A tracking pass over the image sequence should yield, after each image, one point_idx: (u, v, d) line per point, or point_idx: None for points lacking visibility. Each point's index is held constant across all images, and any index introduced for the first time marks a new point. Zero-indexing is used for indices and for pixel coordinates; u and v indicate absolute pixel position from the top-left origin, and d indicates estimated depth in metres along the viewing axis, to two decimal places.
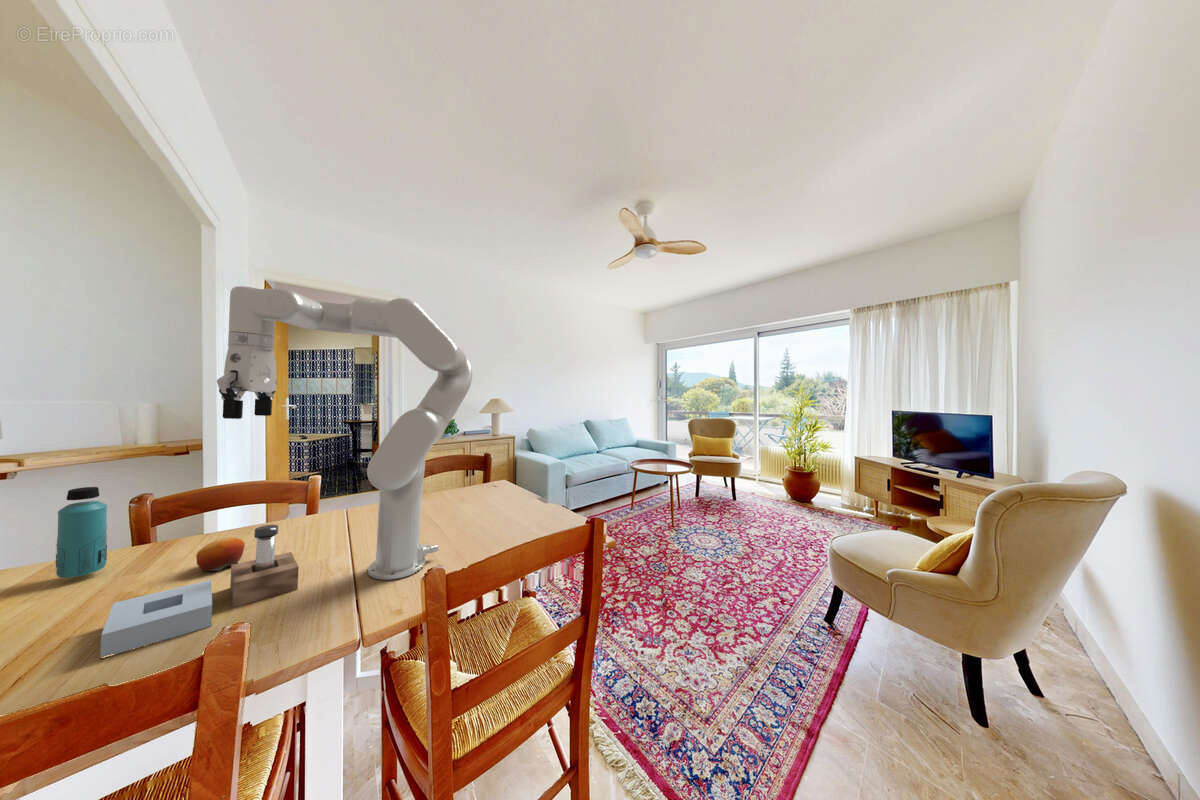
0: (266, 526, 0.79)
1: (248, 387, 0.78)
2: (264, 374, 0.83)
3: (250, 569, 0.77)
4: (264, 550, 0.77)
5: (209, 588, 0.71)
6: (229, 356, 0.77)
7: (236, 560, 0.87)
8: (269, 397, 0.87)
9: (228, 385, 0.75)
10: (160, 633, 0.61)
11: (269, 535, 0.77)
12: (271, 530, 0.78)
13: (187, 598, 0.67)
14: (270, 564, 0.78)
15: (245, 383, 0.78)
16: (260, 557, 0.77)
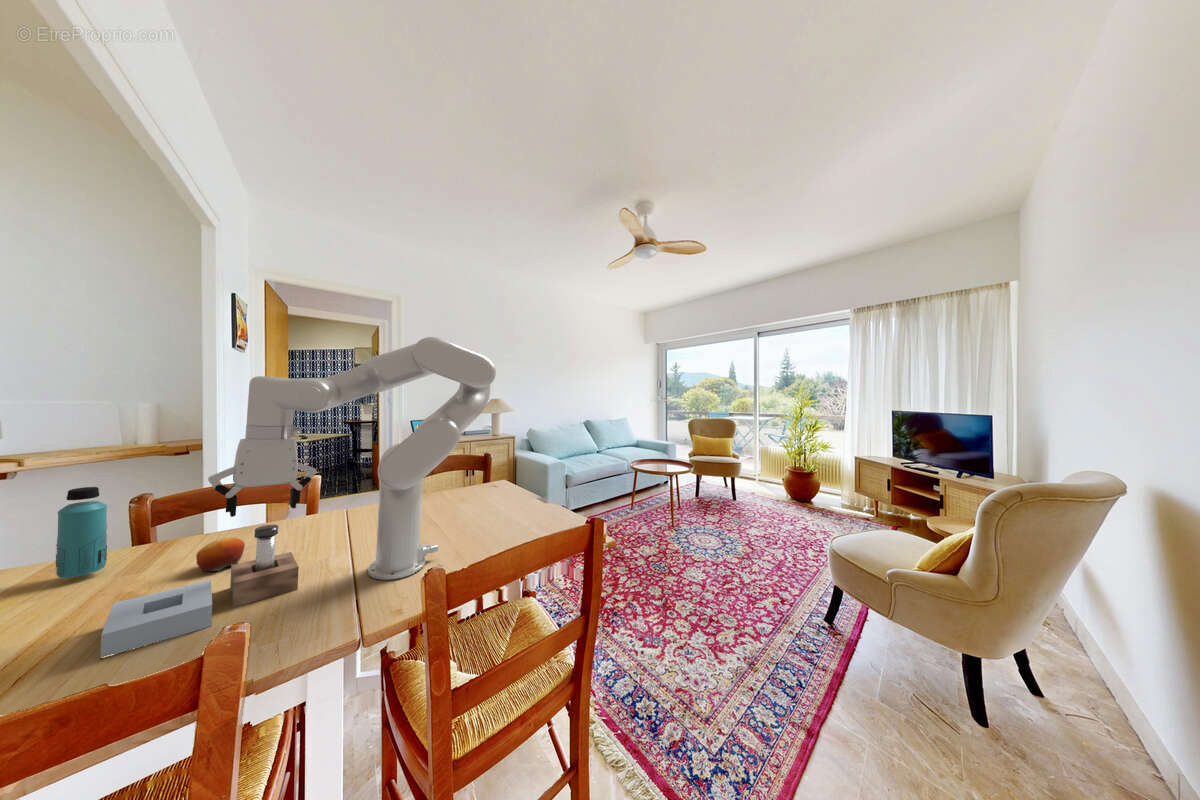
0: (266, 526, 0.79)
1: None
2: None
3: (250, 569, 0.77)
4: (264, 550, 0.77)
5: (209, 588, 0.71)
6: (296, 449, 0.81)
7: (236, 560, 0.87)
8: None
9: None
10: (160, 633, 0.61)
11: (269, 535, 0.77)
12: (271, 530, 0.78)
13: (187, 598, 0.67)
14: (270, 564, 0.78)
15: None
16: (260, 557, 0.77)
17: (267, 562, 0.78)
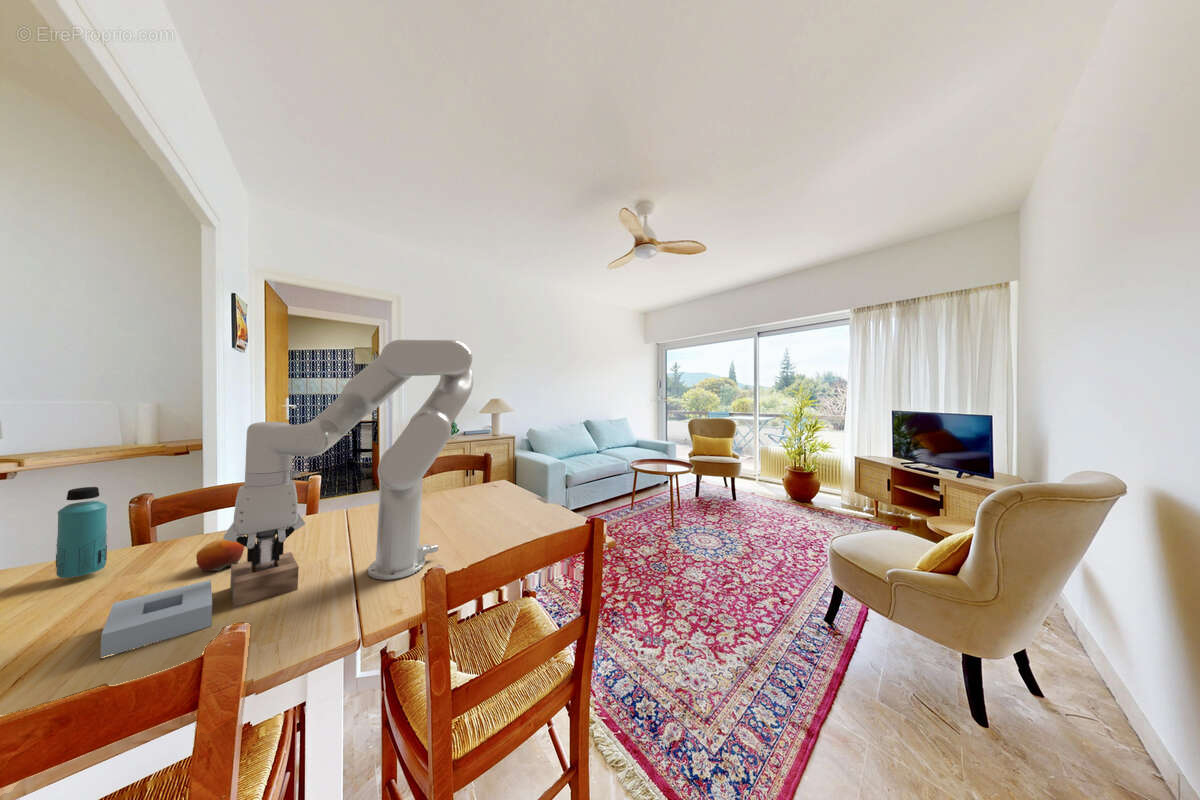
0: None
1: None
2: None
3: (250, 569, 0.77)
4: (264, 550, 0.77)
5: (209, 588, 0.71)
6: (296, 492, 0.81)
7: (236, 560, 0.87)
8: None
9: None
10: (160, 633, 0.61)
11: (269, 535, 0.77)
12: (271, 530, 0.78)
13: (187, 598, 0.67)
14: (270, 564, 0.78)
15: None
16: (260, 557, 0.77)
17: (267, 562, 0.78)
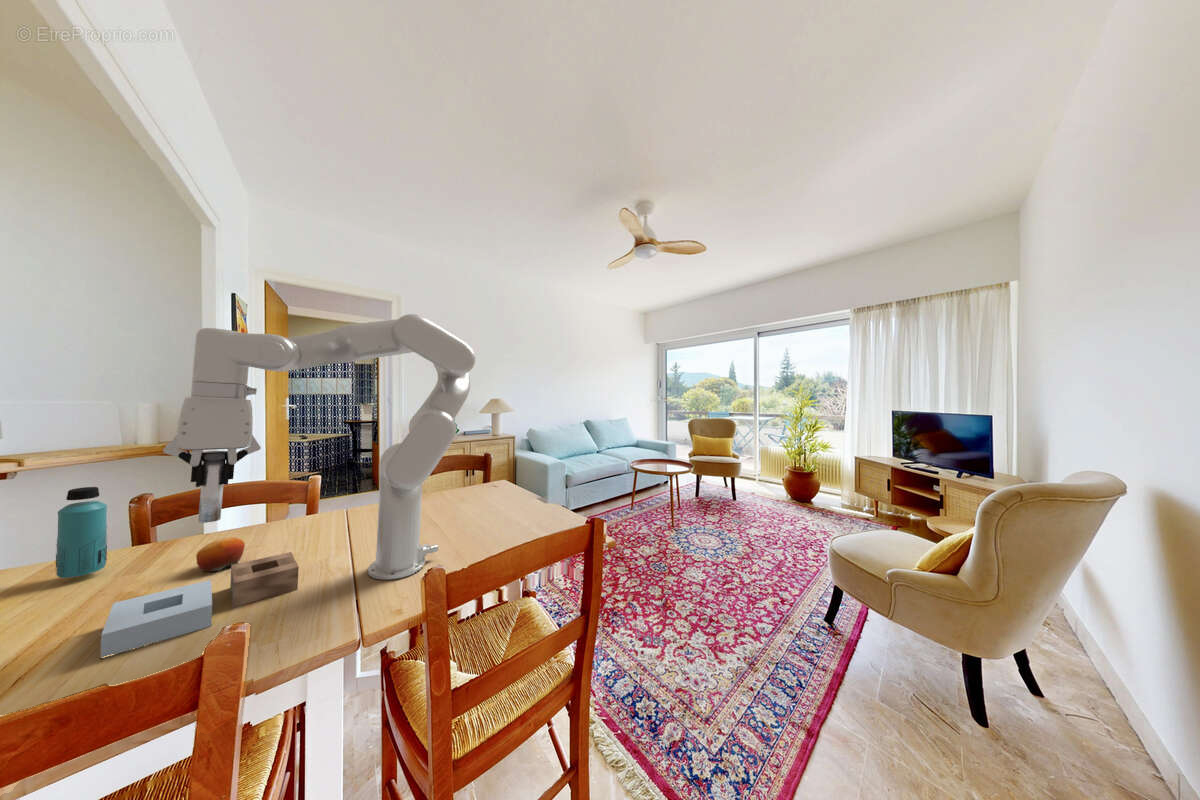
0: (215, 451, 0.71)
1: None
2: None
3: (250, 569, 0.77)
4: (211, 476, 0.69)
5: (209, 588, 0.71)
6: (251, 411, 0.73)
7: (236, 560, 0.87)
8: None
9: None
10: (160, 633, 0.61)
11: (217, 459, 0.70)
12: (219, 454, 0.70)
13: (187, 598, 0.67)
14: (216, 493, 0.70)
15: None
16: (205, 483, 0.69)
17: (213, 490, 0.70)
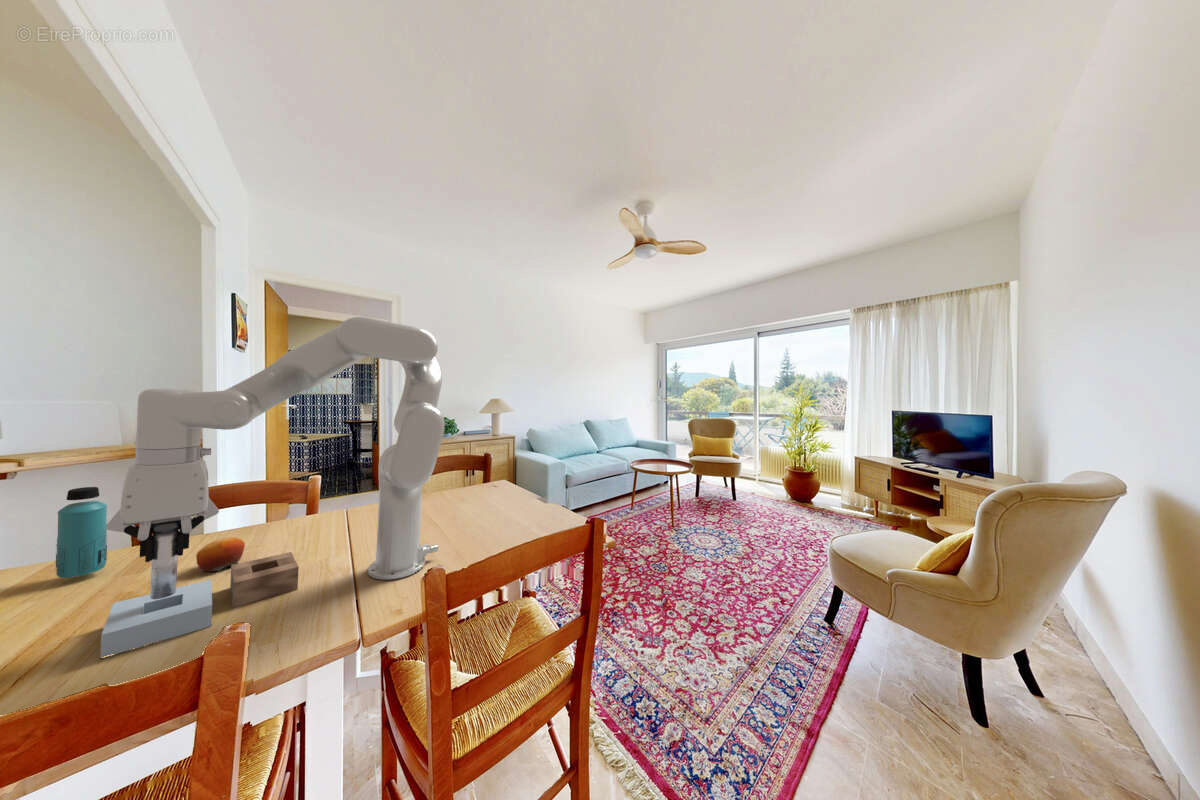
0: None
1: None
2: None
3: (250, 569, 0.77)
4: (162, 548, 0.64)
5: (209, 588, 0.71)
6: (205, 474, 0.68)
7: (236, 560, 0.87)
8: None
9: None
10: (160, 633, 0.61)
11: (168, 530, 0.64)
12: (171, 525, 0.64)
13: (187, 598, 0.67)
14: (170, 566, 0.65)
15: None
16: (156, 557, 0.64)
17: (166, 563, 0.64)
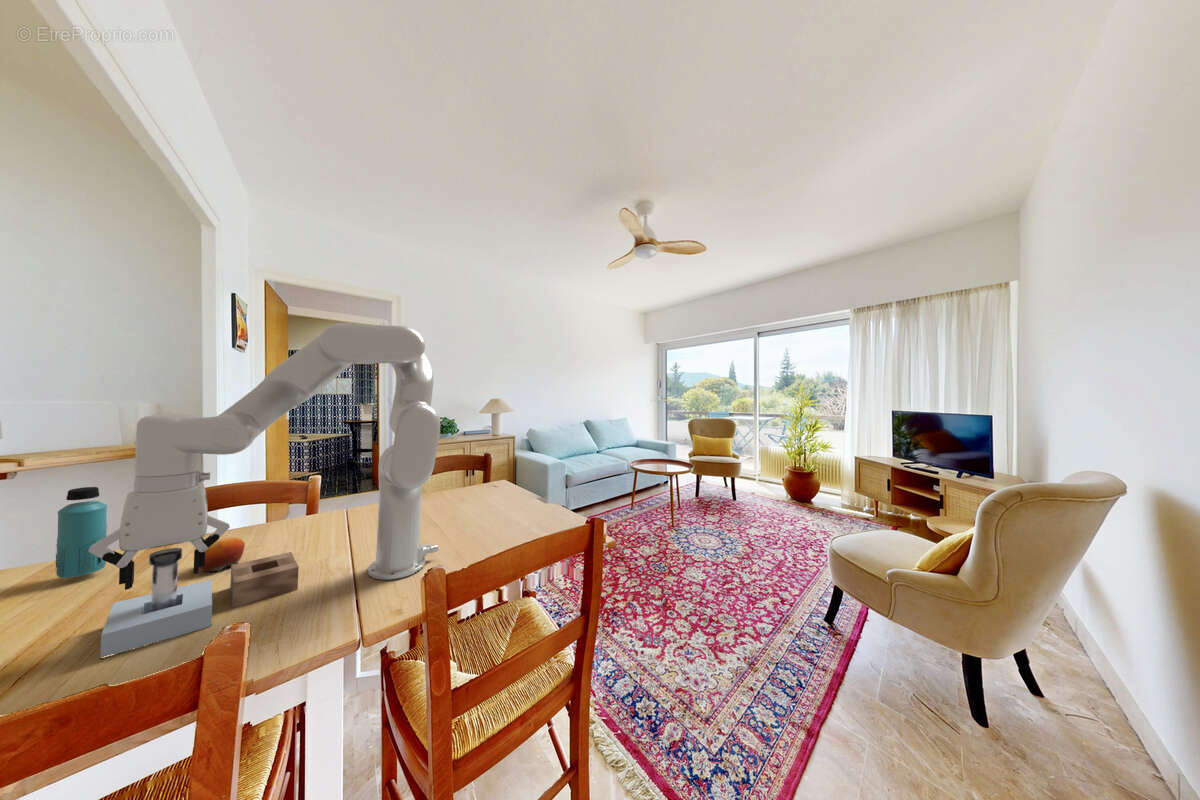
0: (167, 550, 0.66)
1: None
2: None
3: (250, 569, 0.77)
4: (162, 580, 0.64)
5: (209, 588, 0.71)
6: (204, 499, 0.68)
7: (236, 560, 0.87)
8: None
9: None
10: (160, 633, 0.61)
11: (167, 561, 0.64)
12: (171, 556, 0.65)
13: (187, 598, 0.67)
14: (169, 596, 0.65)
15: None
16: (156, 588, 0.64)
17: (165, 594, 0.65)
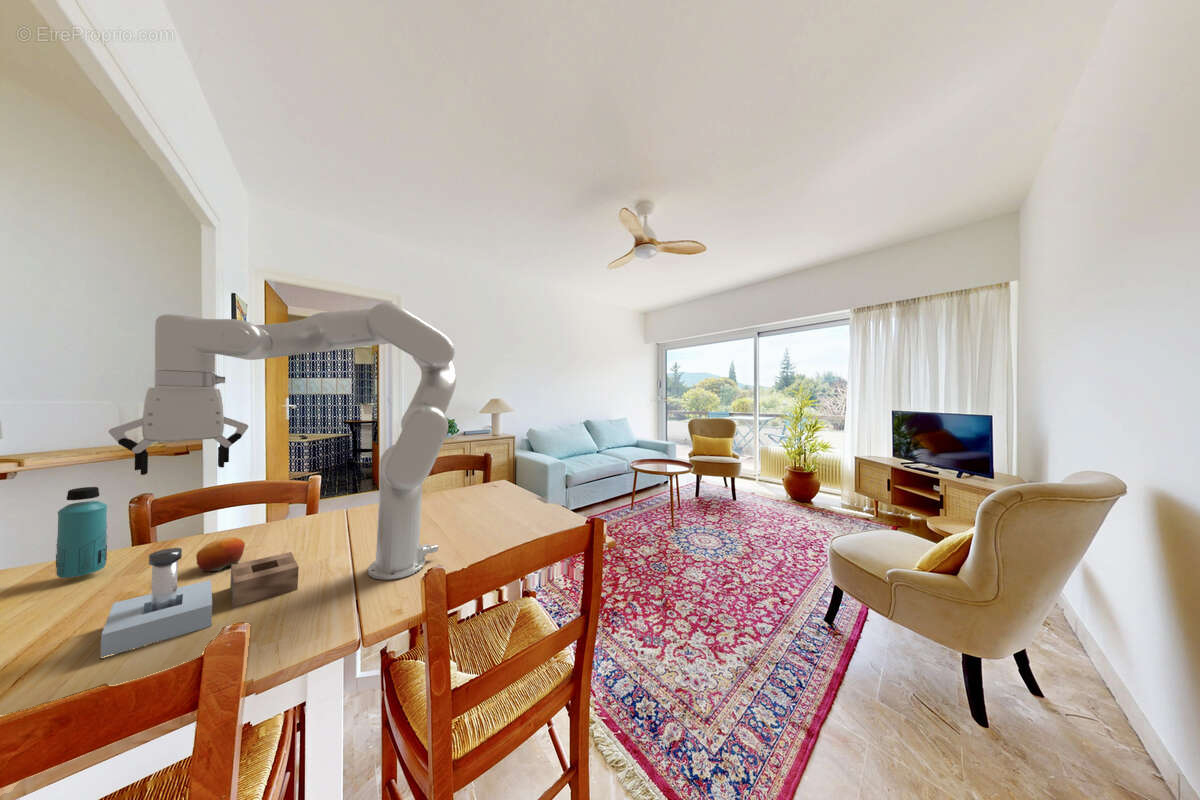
0: (166, 550, 0.66)
1: None
2: None
3: (250, 569, 0.77)
4: (161, 580, 0.64)
5: (209, 588, 0.71)
6: (221, 400, 0.71)
7: (236, 560, 0.87)
8: None
9: None
10: (160, 633, 0.61)
11: (167, 561, 0.64)
12: (170, 556, 0.65)
13: (187, 598, 0.67)
14: (169, 596, 0.65)
15: None
16: (155, 588, 0.64)
17: (165, 594, 0.65)
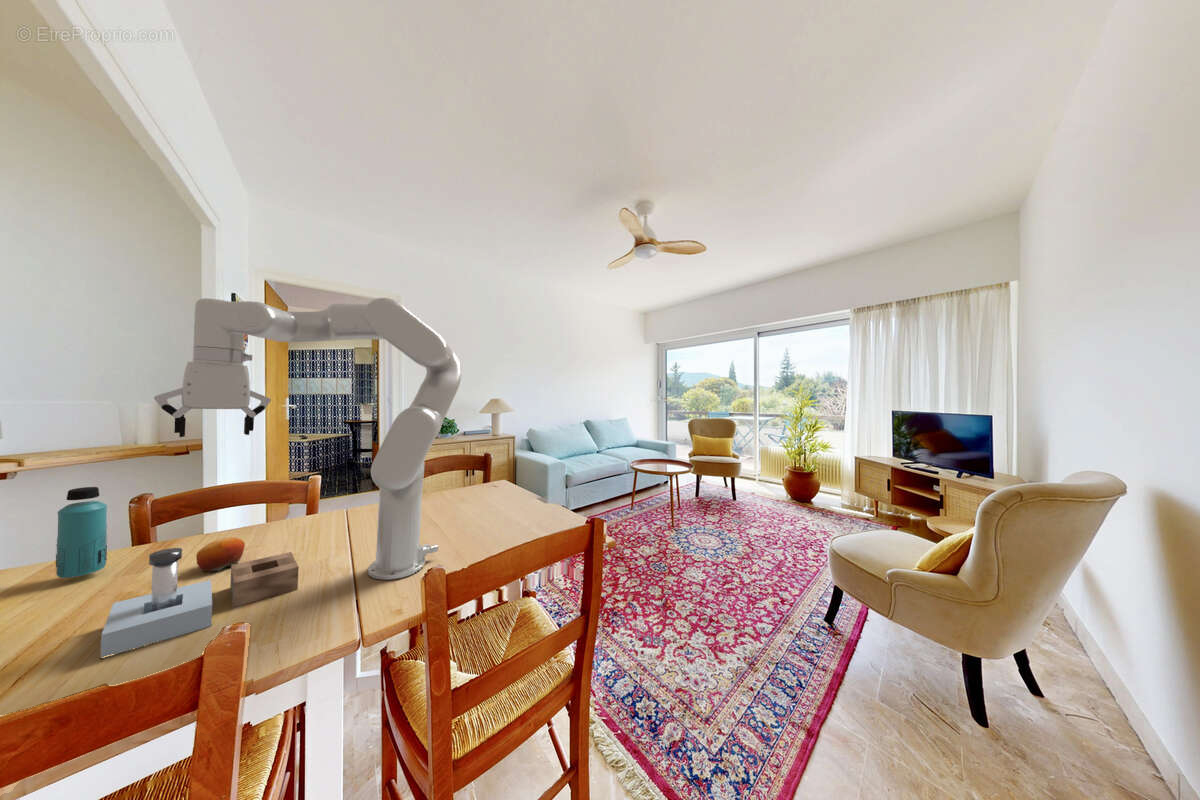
0: (166, 550, 0.66)
1: None
2: None
3: (250, 569, 0.77)
4: (162, 580, 0.64)
5: (209, 588, 0.71)
6: (248, 375, 0.81)
7: (236, 560, 0.87)
8: None
9: None
10: (160, 633, 0.61)
11: (167, 561, 0.64)
12: (170, 556, 0.65)
13: (187, 598, 0.67)
14: (169, 596, 0.65)
15: None
16: (156, 588, 0.64)
17: (165, 594, 0.65)
